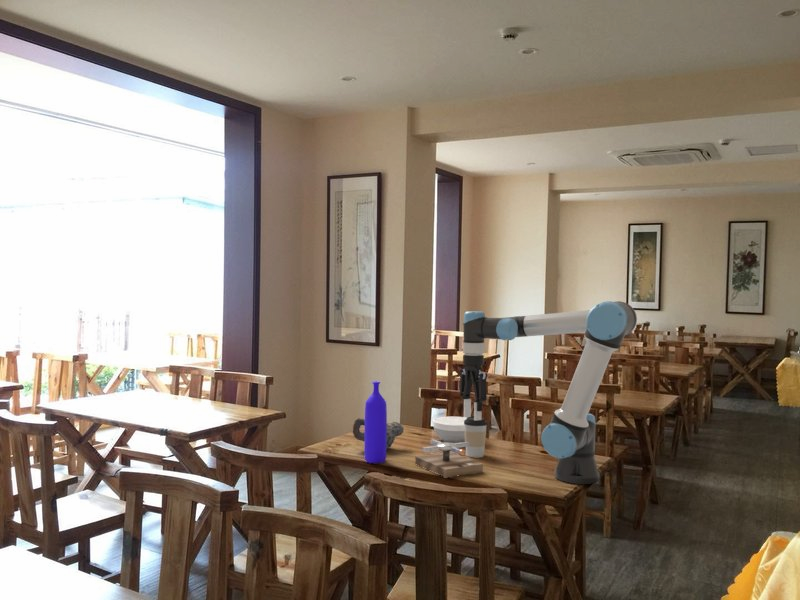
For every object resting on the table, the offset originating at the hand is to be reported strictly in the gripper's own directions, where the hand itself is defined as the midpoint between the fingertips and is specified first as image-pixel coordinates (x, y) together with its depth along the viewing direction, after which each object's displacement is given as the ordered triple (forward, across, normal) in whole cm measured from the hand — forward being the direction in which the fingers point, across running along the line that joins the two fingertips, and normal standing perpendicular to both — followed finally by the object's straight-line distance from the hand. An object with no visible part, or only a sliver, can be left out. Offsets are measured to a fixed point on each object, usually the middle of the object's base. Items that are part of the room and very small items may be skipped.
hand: (472, 418), depth 245 cm
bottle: (+19, +27, +25) cm, 41 cm away
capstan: (+12, +5, +7) cm, 15 cm away
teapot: (+19, +43, +15) cm, 49 cm away
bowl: (+19, +41, -21) cm, 50 cm away
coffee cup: (+19, +17, -14) cm, 29 cm away
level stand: (+19, +6, +6) cm, 21 cm away
